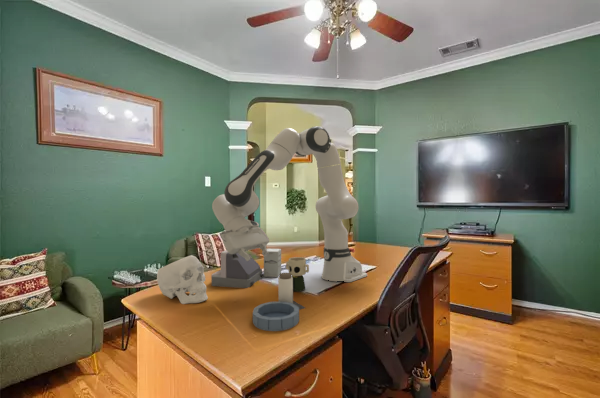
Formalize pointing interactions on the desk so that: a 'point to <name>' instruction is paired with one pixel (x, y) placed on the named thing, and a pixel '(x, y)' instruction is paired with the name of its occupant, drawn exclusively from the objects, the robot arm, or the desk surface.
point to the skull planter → (183, 280)
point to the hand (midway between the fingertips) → (258, 257)
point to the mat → (298, 305)
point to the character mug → (297, 272)
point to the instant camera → (236, 271)
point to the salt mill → (285, 287)
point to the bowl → (276, 316)
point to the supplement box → (272, 263)
